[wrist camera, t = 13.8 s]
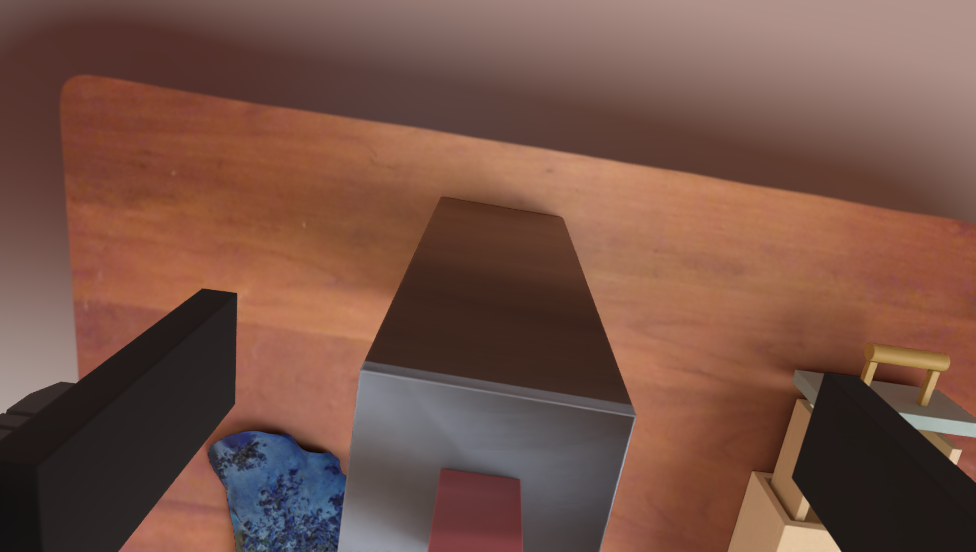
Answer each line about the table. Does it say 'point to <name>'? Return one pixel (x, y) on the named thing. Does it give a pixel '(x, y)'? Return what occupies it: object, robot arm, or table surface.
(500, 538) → the doll
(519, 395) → the stand
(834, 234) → the table surface
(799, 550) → the cabinet
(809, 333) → the table surface
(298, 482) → the rock
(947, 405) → the drawer
